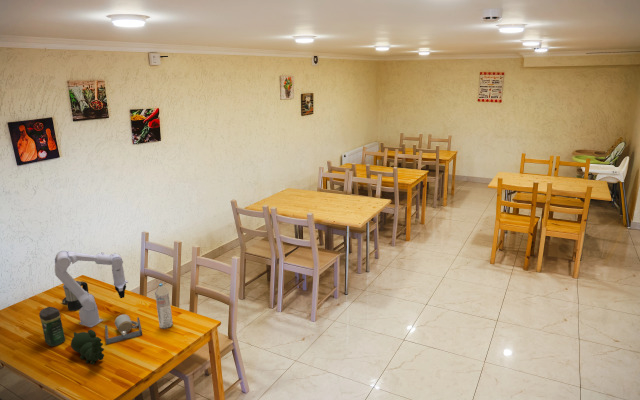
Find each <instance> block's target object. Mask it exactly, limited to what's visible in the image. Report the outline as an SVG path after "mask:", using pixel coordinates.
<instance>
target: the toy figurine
mask: <svg viewBox="0 0 640 400" xmlns="http://www.w3.org/2000/svg"><path fill="white" fill-rule="evenodd" d="M96 333H97V332H96V331H94V330H93V329H88V330H87V332H86V331H81V332H75V331H74V332H73V337H72V339H71V342H70V347H71V349H72V350H73V351H74V352H76V353H78V354H80V356H79V358H80V360H85V363H86V364H90V365H95V364H96V362H97V361H98V360H99V361H103V360H104V357H105V354H104V353H103V352H104V350H105V348H104V347H103V345H104V344H103V342H102V339H101V338H100V337H98V336H97V334H96Z"/></svg>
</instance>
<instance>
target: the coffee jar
mask: <svg viewBox="0 0 640 400" xmlns="http://www.w3.org/2000/svg"><path fill="white" fill-rule="evenodd" d="M61 317H62V316H61V312H60V310H59V309H58V308H56V307H53V306H48V307H45V308H42V309H41V310H39V320H40V323H41V327H42V332H43V338H44V343H46V344H47V345H48V346H49V347H55V346H60V345H61V344H62V343H64V342H65V341H66V336H65V331H64V328H63V323H62V318H61Z"/></svg>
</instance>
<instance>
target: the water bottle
mask: <svg viewBox="0 0 640 400" xmlns="http://www.w3.org/2000/svg"><path fill="white" fill-rule="evenodd" d="M154 296H155V302H156V311H157V318H158V324H159V328H160V329H163V330H165V329H166V330H167V329H169V328H172V326H173V324H174V322H173V316H172V315H173V314H172V308H171V302H170V301H171V300H170V294H169V289H168V288H167V287H166V286H164V285H163V283H162V282H160V283H159V284H158V287H157V288H156V289H155V291H154Z"/></svg>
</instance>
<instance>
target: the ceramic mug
mask: <svg viewBox="0 0 640 400" xmlns="http://www.w3.org/2000/svg"><path fill="white" fill-rule="evenodd" d="M114 325H115V327H116V329H117V331H118V332H120V333H121V331H123V330H126V334H128V333H130V331H131V330H132V329H138V328H139V326H138V321H135V320H132V319H131V317H130V316H129V315H128V314H125V313H124V314H120V315H118V316H117V317H116V318H115V320H114Z"/></svg>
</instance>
